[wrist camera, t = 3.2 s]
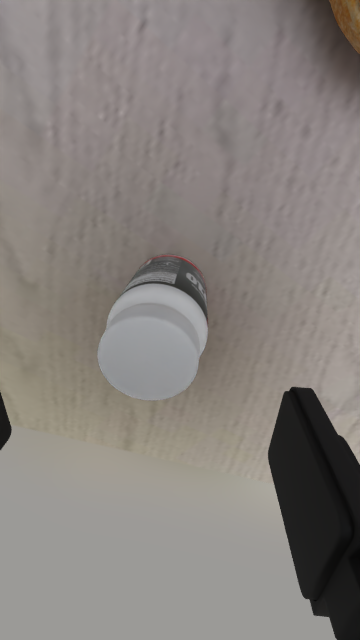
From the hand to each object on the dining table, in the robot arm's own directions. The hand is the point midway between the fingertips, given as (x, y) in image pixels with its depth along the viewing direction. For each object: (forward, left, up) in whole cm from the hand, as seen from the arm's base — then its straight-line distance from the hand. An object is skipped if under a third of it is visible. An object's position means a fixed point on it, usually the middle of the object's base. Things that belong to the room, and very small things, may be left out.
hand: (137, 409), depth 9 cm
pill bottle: (0, 0, -11) cm, 11 cm away
